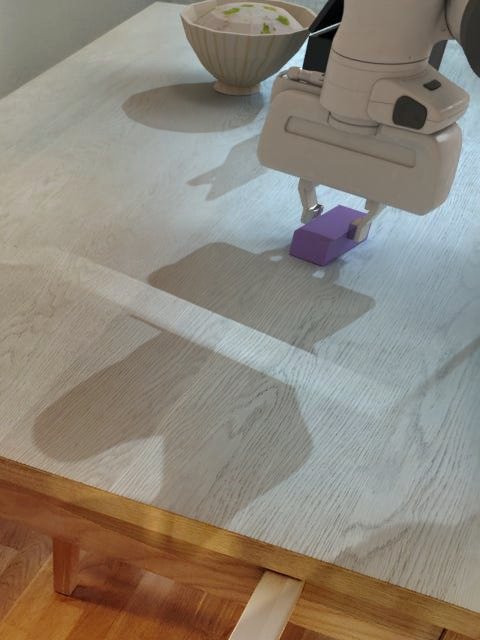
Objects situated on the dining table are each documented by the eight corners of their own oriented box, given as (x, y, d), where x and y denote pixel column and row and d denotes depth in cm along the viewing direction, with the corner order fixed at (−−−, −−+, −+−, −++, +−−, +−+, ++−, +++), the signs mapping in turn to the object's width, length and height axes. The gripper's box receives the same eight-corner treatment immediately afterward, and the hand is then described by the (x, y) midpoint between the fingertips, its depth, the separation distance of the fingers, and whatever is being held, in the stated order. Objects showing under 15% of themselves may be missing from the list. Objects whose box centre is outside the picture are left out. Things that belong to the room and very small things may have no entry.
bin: (423, 120, 121) (449, 37, 114) (380, 143, 116) (404, 57, 109) (335, 97, 128) (354, 17, 120) (291, 118, 122) (308, 35, 115)
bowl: (172, 64, 138) (181, -14, 131) (300, 68, 136) (317, -11, 129) (169, 107, 126) (179, 23, 118) (310, 113, 124) (329, 28, 116)
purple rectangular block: (333, 227, 100) (339, 204, 98) (367, 238, 98) (374, 215, 96) (288, 254, 96) (293, 230, 94) (322, 266, 94) (329, 242, 92)
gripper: (259, 69, 89) (234, 212, 99) (455, 119, 79) (405, 271, 89) (294, 54, 92) (266, 194, 102) (488, 101, 82) (435, 250, 92)
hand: (332, 231), depth 95 cm, fingers closed on purple rectangular block, 4 cm apart
